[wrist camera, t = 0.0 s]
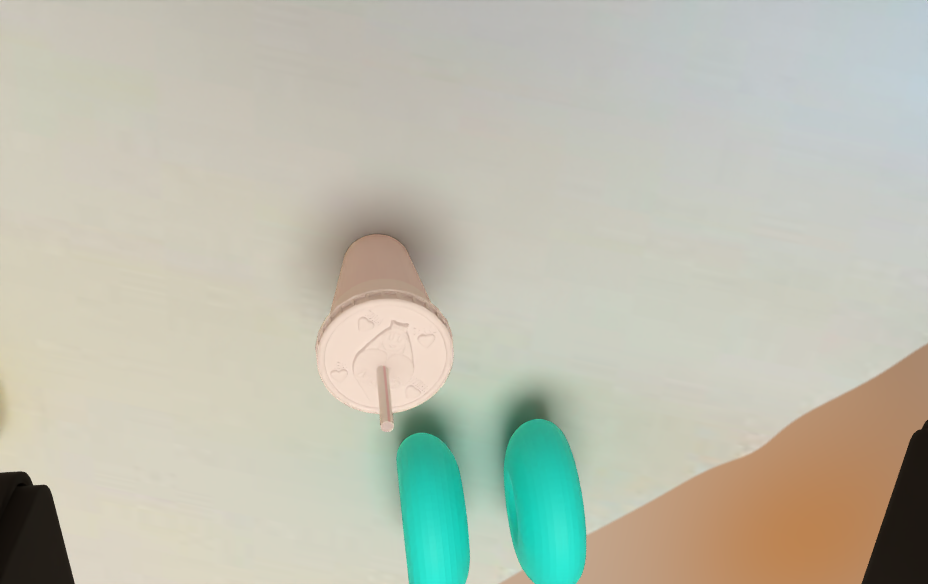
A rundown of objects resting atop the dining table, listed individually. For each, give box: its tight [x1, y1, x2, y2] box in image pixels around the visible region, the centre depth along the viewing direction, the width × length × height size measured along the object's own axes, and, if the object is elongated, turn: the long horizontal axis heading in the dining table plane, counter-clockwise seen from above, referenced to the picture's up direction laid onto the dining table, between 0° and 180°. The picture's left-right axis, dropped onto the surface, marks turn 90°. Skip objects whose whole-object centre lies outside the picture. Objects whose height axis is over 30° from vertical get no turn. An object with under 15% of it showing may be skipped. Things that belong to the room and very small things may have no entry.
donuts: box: [396, 419, 586, 584], centre depth 52 cm, size 10×10×10 cm
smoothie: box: [315, 234, 454, 432], centre depth 43 cm, size 6×6×14 cm
